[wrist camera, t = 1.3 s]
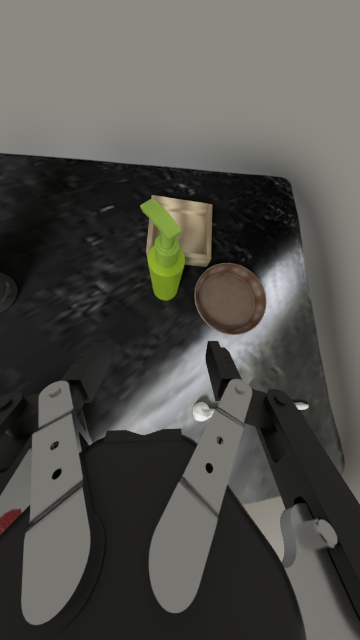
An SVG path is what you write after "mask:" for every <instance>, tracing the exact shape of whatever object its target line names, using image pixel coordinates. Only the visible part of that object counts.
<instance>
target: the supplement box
mask: <svg viewBox="0 0 360 640" xmlns="http://www.w3.org/2000/svg"><path fill="white" fill-rule="evenodd" d="M31 465H32V448H31V449H29V450H28V452H27V454H26V455H25V457H24V458H23V460H22V462H21V463H20V465H19V467H18V468H17V470H16V471H15V473H14V475H13V476H12V478H11V480H10V481H9V483H8V484H7V486H6V488H5V489H4V491H3V492H2V494H1V496H0V535H1V534H2V533H3V532H4V531H5V530H6V528H7V527H8V526H9V525H10V524H11V523H12V522H13V521H14V520H15V519H16V518H17V517H18V516H19V515H20V514H21V513H22V512H23V511H24V510H25V509H26V508H27V507H28V506H29V505H30V500H31Z"/></svg>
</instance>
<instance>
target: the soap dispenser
mask: <svg viewBox="0 0 360 640" xmlns="http://www.w3.org/2000/svg"><path fill="white" fill-rule="evenodd" d="M140 207H141V209H142V211H143V212H144V213H145V214H146V215H147V216H148V217H149V218H150V219H151V220H152V222H153V223H154V224H155V225H156V227H157V228H158V229H159V230H160V234H161V235H159V236H158V237H157V238H156V240H155V244H154V246H153V247H152V248H151V249H150V251H149V253H148V265H149V270H150V275H151V280H152V285H153V291H154V293H155V295H156V296H157V297H158V298H159V299H161V300H170V299H172V298H173V297H174V296H175V295H176V293H177V290H178V287H179V283H180V279H181V275H182V272H183V268H184V264H185V256H184V253H183V251H182V250H181V249H180V248H179V246H180V245H179V241H178V239H177V238H176V237H177V236H179V235H180V234H181V232H182V230H181V228H180V227H179V226H178V224H177V223H176V222H175V221H174V219H173V218H172V217H171V215H170V214H169V213H168V212H167V211H166V209H165V208H164V207H163V206H162V205H161V204H160V203H158V202H157V201H156V200H155V199H153V198H152V199H150V200H149V201H147V202H145V203H144V204H142V205H140Z"/></svg>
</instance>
